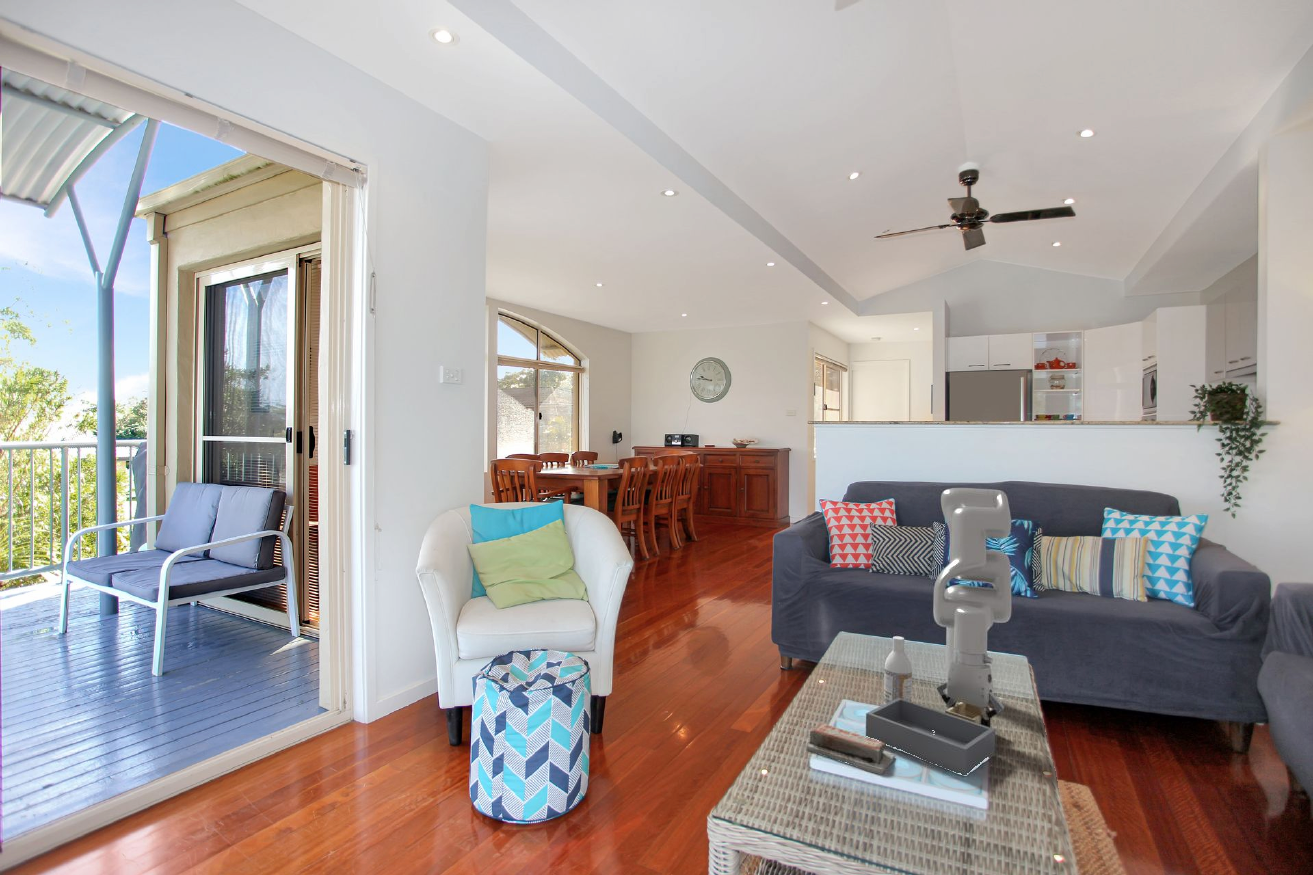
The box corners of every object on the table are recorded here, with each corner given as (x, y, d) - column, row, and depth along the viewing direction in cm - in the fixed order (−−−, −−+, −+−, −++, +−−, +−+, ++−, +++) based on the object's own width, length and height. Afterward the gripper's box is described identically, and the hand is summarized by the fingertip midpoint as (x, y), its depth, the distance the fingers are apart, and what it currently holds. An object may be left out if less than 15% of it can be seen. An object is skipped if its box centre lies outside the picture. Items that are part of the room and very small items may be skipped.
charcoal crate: (898, 720, 169) (898, 697, 169) (994, 754, 151) (995, 729, 151) (865, 737, 158) (866, 713, 159) (965, 777, 140) (965, 749, 140)
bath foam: (900, 719, 170) (901, 643, 170) (878, 709, 176) (879, 636, 176) (916, 713, 174) (917, 639, 174) (894, 704, 179) (895, 632, 180)
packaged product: (804, 730, 152) (821, 717, 160) (804, 751, 152) (821, 736, 159) (882, 754, 141) (896, 738, 149) (881, 776, 141) (895, 759, 149)
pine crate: (964, 722, 169) (964, 699, 169) (992, 732, 163) (992, 708, 163) (944, 734, 161) (945, 710, 161) (973, 744, 156) (974, 720, 156)
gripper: (1012, 663, 158) (1011, 736, 158) (942, 646, 171) (941, 713, 171) (1000, 670, 154) (999, 745, 153) (929, 651, 167) (927, 720, 166)
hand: (968, 727), depth 162 cm, fingers closed on pine crate, 7 cm apart
